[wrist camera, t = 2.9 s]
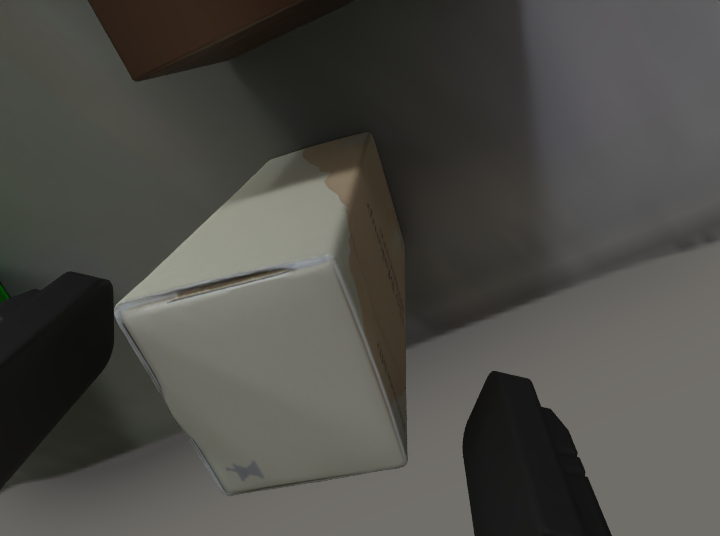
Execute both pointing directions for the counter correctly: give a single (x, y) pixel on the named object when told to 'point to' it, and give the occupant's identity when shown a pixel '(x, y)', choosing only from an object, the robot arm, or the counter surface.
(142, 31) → the shelf
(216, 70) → the counter surface
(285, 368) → the box
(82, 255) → the counter surface
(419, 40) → the counter surface
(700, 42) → the counter surface
